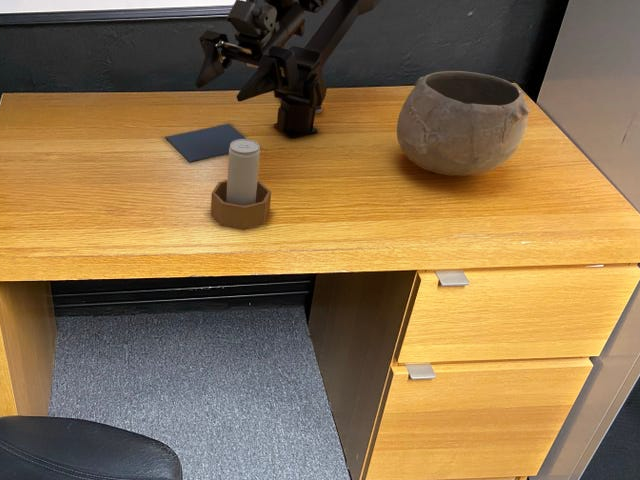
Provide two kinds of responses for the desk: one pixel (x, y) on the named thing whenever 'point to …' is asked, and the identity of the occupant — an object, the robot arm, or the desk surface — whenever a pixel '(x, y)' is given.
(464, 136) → the clay pot
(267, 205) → the brown octagonal cup
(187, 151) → the cloth
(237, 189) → the beverage can
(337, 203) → the desk surface
